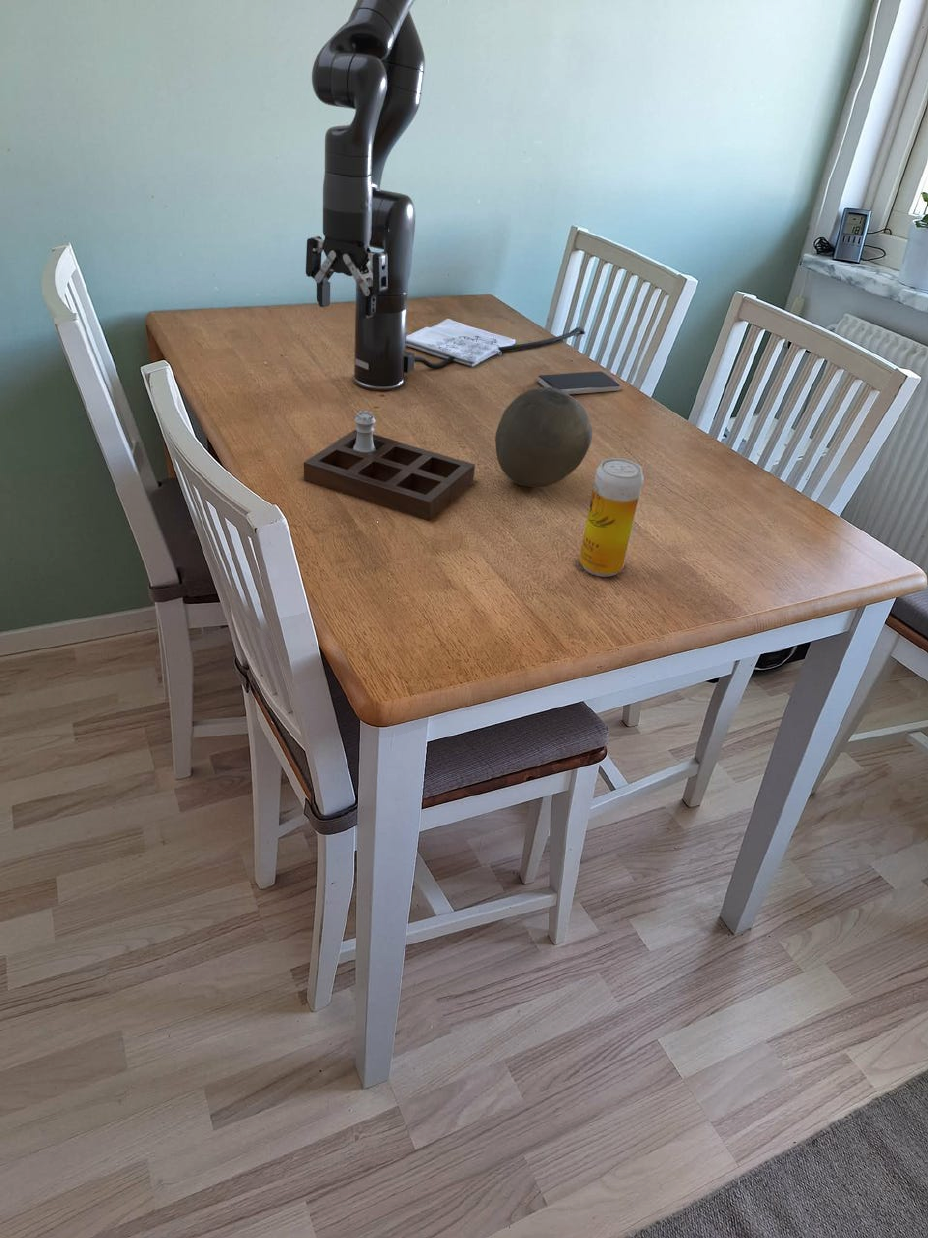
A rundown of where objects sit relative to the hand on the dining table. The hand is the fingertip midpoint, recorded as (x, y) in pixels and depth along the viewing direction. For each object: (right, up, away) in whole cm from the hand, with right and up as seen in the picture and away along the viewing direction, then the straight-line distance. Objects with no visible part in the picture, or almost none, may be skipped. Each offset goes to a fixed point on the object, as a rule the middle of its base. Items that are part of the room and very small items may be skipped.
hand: (345, 311), depth 146 cm
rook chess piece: (+3, -25, -4) cm, 26 cm away
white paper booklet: (+18, +8, +44) cm, 49 cm away
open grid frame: (+8, -29, -9) cm, 31 cm away
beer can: (+38, -43, -24) cm, 62 cm away
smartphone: (+42, -4, +31) cm, 53 cm away
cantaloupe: (+31, -29, -5) cm, 42 cm away
